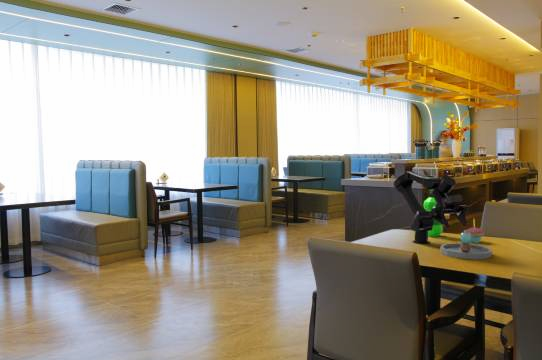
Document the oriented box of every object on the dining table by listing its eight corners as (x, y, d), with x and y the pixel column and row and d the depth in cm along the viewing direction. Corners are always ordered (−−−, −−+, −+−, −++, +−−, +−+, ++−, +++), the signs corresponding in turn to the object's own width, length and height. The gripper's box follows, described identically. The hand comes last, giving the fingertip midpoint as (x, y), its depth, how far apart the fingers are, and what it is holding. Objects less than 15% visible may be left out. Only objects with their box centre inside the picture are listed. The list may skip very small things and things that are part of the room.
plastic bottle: (433, 238, 239) (434, 191, 238) (419, 234, 249) (419, 189, 247) (447, 236, 244) (448, 190, 242) (432, 233, 253) (433, 188, 251)
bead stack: (460, 252, 203) (461, 228, 202) (473, 253, 200) (473, 229, 199) (457, 254, 199) (458, 230, 198) (469, 256, 195) (470, 231, 195)
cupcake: (463, 240, 234) (463, 217, 233) (479, 239, 234) (480, 216, 234) (470, 243, 226) (471, 219, 225) (487, 243, 226) (488, 219, 225)
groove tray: (458, 246, 219) (458, 241, 219) (501, 254, 202) (501, 249, 201) (430, 252, 207) (431, 246, 207) (473, 261, 190) (473, 255, 190)
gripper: (433, 189, 204) (449, 217, 195) (467, 187, 210) (484, 214, 200) (421, 204, 212) (436, 231, 203) (454, 202, 218) (470, 229, 208)
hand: (457, 226), depth 203 cm, fingers open, 9 cm apart
